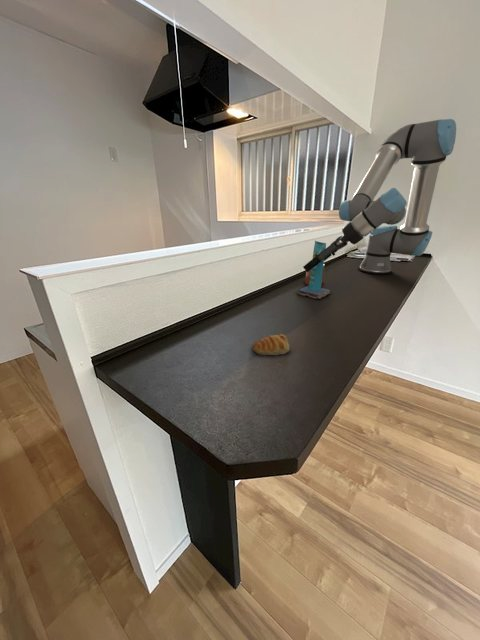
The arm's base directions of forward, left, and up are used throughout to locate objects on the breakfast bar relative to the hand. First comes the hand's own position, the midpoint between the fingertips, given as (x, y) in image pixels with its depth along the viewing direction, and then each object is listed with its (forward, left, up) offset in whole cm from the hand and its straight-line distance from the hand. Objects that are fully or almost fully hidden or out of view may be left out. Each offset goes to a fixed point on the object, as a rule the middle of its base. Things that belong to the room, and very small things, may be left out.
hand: (311, 265), depth 106 cm
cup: (-14, -3, -12) cm, 18 cm away
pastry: (+49, +8, -12) cm, 51 cm away
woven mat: (0, +2, -12) cm, 12 cm away
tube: (0, +2, -10) cm, 10 cm away
